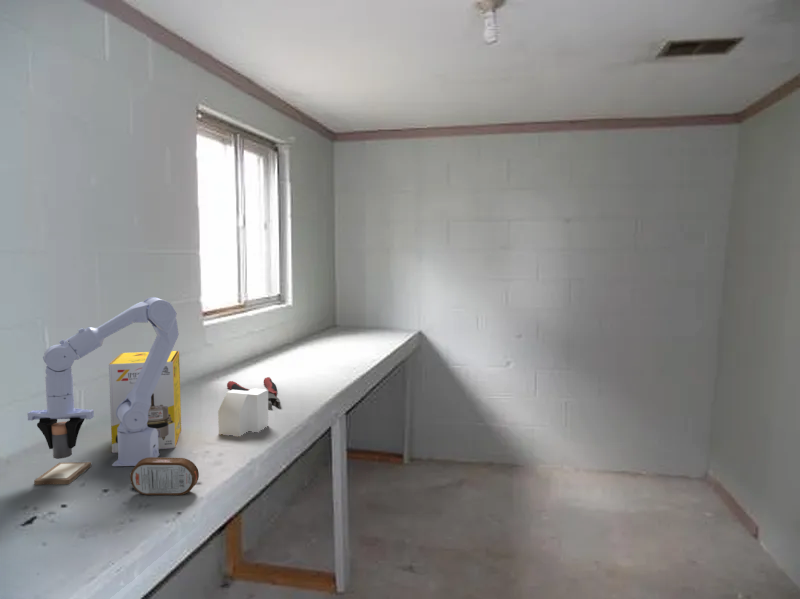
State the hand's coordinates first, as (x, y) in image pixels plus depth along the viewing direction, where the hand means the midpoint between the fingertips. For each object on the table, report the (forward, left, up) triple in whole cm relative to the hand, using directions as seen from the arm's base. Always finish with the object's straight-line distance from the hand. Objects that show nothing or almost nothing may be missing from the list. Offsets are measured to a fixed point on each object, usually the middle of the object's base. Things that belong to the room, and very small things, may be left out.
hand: (62, 447), depth 137 cm
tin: (-29, +11, -7) cm, 32 cm away
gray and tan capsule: (0, 0, -2) cm, 2 cm away
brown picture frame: (0, 0, -7) cm, 7 cm away
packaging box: (-12, -24, -7) cm, 28 cm away
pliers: (-34, -71, -8) cm, 79 cm away
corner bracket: (-38, -33, -7) cm, 50 cm away
